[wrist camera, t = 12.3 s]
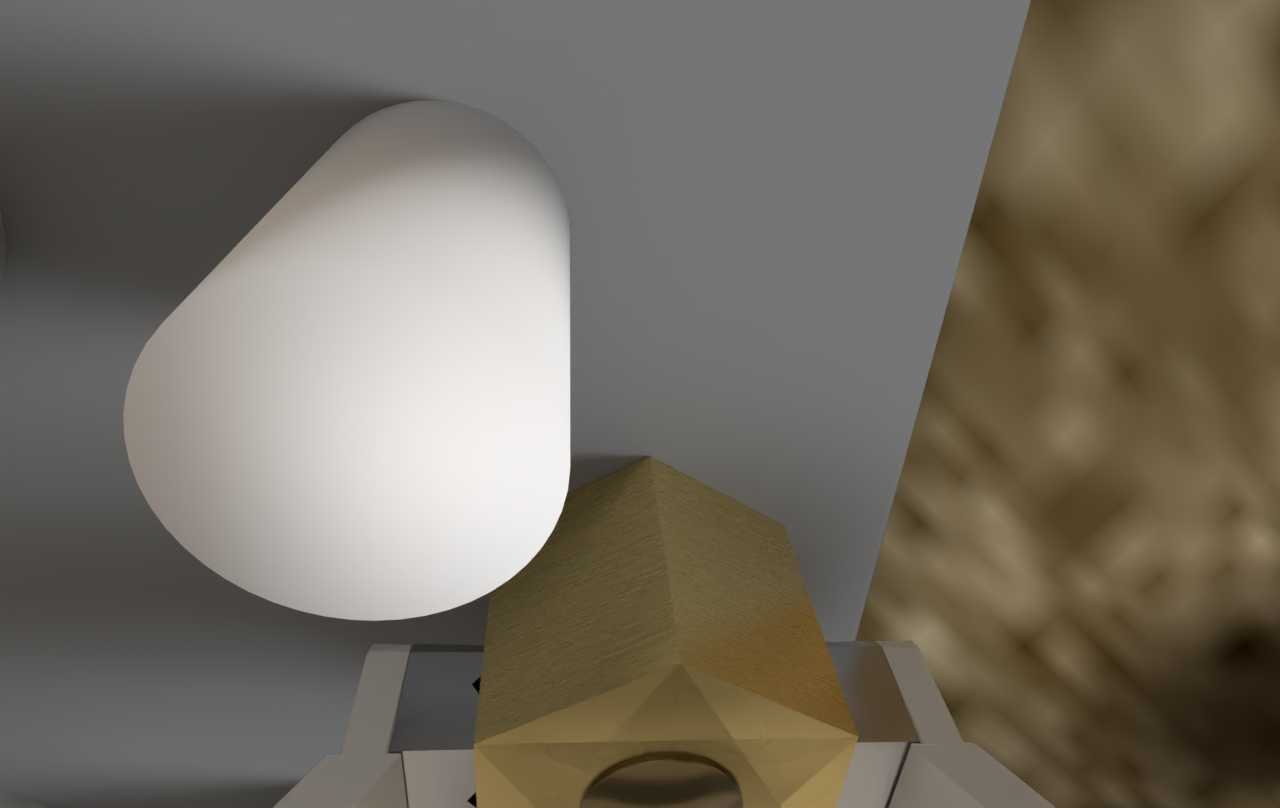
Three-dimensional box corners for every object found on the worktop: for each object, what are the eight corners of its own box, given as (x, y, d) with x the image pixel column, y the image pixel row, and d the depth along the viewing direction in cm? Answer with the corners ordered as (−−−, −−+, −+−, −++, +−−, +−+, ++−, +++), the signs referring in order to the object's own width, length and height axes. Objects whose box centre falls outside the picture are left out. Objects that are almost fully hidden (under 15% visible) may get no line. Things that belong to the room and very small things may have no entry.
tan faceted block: (751, 692, 14) (805, 921, 11) (502, 696, 13) (482, 935, 10) (798, 458, 11) (884, 665, 8) (496, 453, 11) (469, 670, 8)
